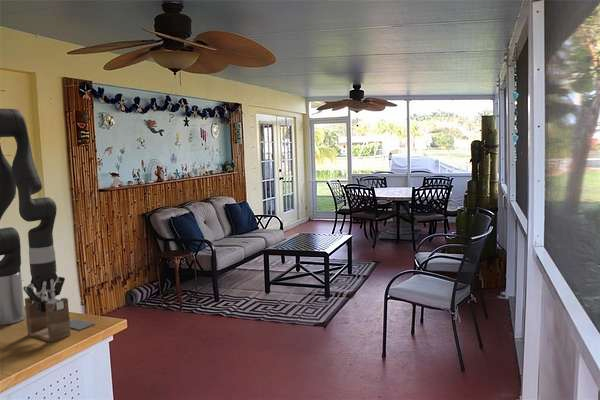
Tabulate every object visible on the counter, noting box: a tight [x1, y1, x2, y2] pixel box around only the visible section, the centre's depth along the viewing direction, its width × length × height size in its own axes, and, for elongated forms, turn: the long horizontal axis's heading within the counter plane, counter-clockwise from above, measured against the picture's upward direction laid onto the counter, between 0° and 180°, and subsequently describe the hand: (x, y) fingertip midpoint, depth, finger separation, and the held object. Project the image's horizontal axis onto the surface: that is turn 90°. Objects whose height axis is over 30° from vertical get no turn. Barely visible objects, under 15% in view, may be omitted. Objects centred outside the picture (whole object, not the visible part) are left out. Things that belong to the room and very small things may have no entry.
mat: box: [70, 318, 96, 332], centre depth 174 cm, size 10×6×1 cm, turn 61°
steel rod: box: [32, 296, 64, 310], centre depth 164 cm, size 14×2×2 cm, turn 61°
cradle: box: [24, 293, 72, 343], centre depth 165 cm, size 13×6×12 cm, turn 61°
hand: (47, 310), depth 164 cm, fingers closed on steel rod, 2 cm apart
